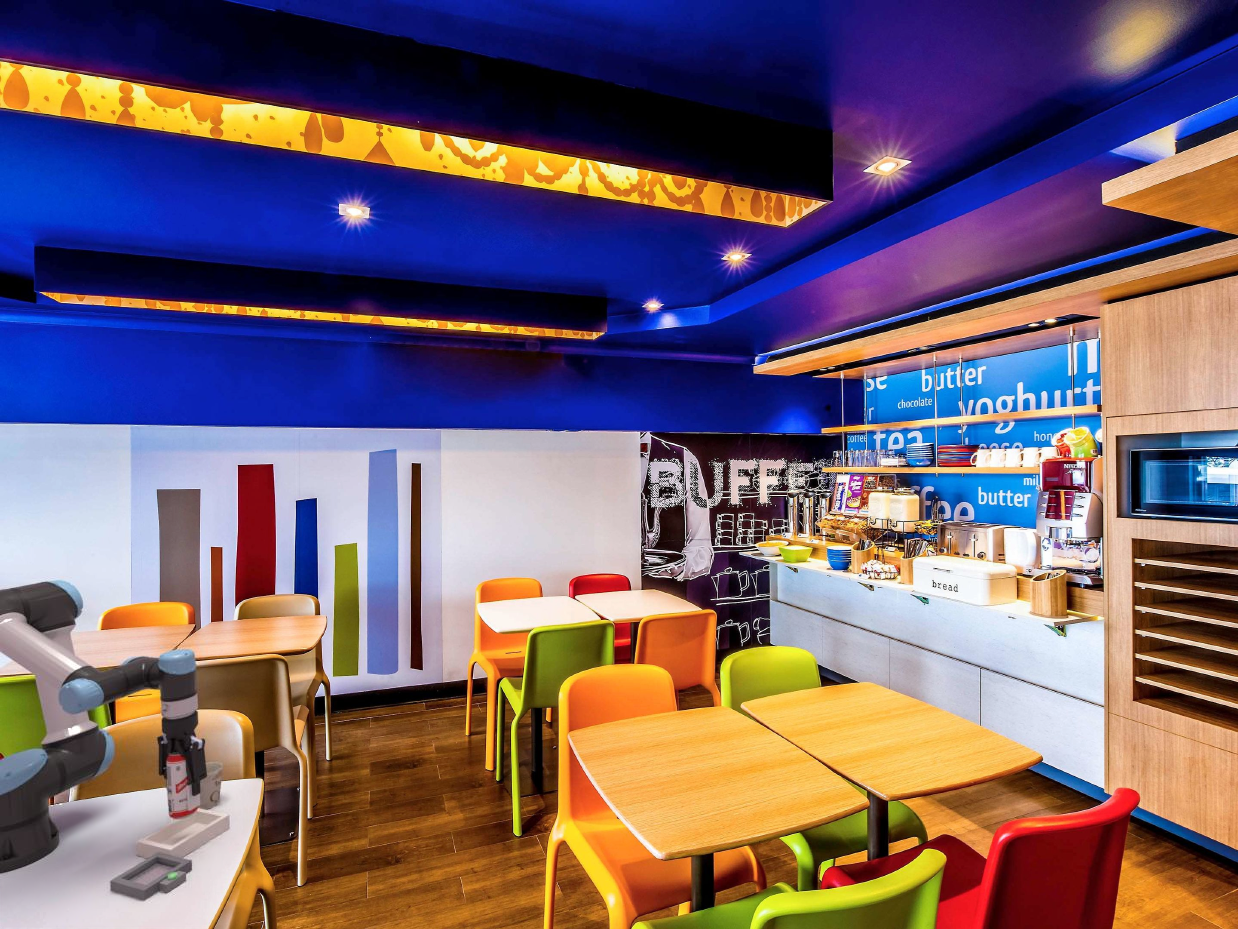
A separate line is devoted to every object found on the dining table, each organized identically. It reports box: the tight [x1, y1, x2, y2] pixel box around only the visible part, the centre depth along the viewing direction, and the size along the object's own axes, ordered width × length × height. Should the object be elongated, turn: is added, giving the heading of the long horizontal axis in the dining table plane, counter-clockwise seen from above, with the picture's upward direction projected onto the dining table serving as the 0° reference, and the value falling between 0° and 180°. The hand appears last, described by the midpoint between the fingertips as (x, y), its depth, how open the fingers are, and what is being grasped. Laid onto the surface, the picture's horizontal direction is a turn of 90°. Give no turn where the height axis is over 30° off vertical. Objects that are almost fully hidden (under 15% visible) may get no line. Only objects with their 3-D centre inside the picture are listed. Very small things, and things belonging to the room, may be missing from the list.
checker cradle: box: [109, 852, 193, 901], centre depth 147 cm, size 13×11×2 cm
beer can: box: [166, 749, 199, 820], centre depth 161 cm, size 6×6×16 cm
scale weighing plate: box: [130, 863, 173, 885], centre depth 147 cm, size 7×7×1 cm
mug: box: [199, 761, 224, 810], centre depth 179 cm, size 8×13×10 cm, turn 78°
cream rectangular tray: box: [136, 808, 231, 859], centre depth 162 cm, size 11×15×4 cm
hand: (184, 805), depth 161 cm, fingers closed on beer can, 6 cm apart
